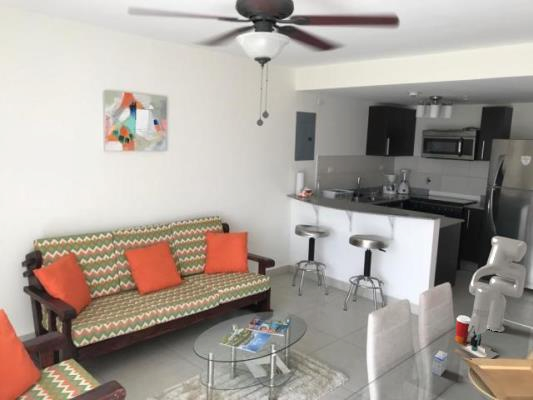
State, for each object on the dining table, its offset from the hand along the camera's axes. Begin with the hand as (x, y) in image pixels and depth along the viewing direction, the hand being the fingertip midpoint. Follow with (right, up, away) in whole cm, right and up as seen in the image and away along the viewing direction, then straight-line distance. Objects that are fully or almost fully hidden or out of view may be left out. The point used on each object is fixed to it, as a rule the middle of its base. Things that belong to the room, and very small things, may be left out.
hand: (475, 345), depth 223 cm
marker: (0, -3, 0) cm, 3 cm away
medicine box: (-24, -8, -13) cm, 29 cm away
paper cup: (+1, -4, +18) cm, 19 cm away
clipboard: (+4, -7, +7) cm, 10 cm away
